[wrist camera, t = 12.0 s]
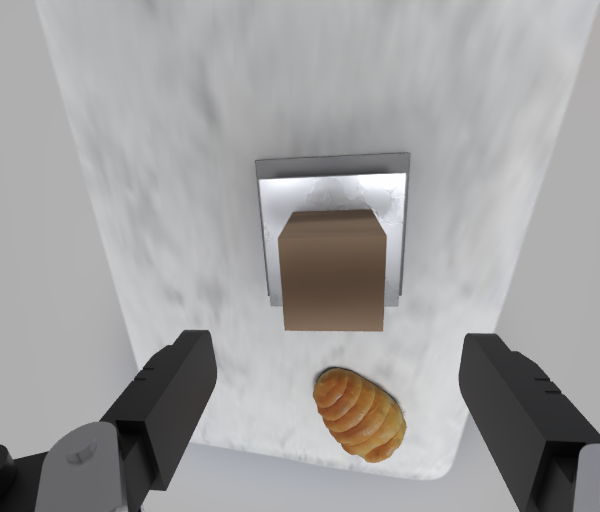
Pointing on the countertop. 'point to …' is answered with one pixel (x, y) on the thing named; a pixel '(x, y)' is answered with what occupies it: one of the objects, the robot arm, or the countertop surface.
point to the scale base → (336, 167)
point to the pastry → (359, 415)
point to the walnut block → (333, 271)
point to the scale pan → (328, 197)
